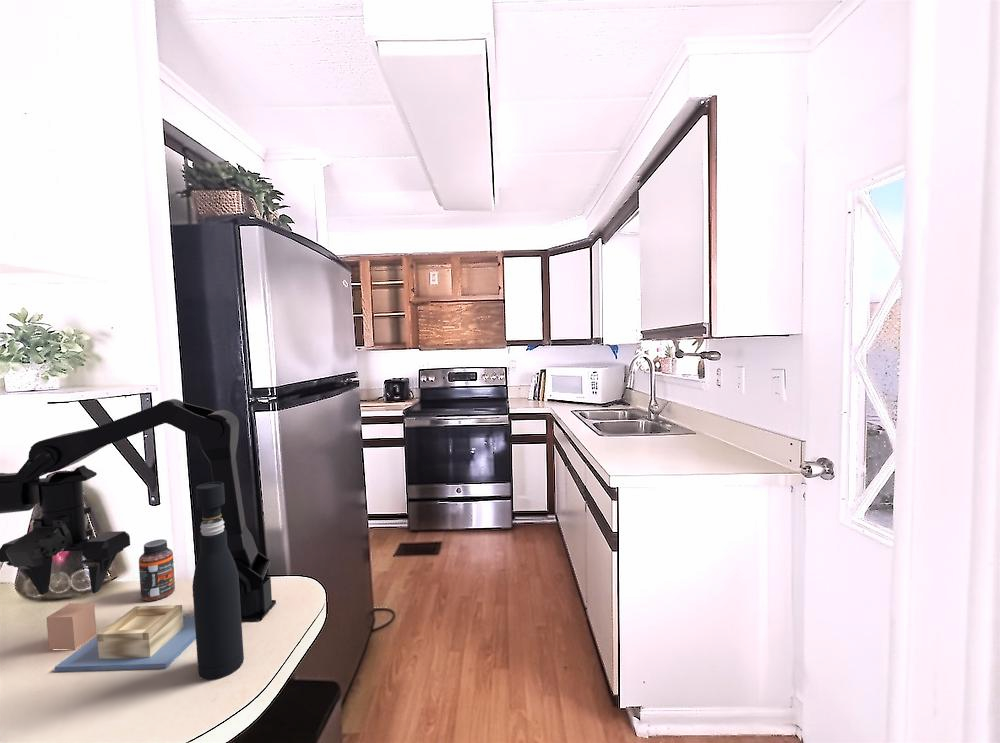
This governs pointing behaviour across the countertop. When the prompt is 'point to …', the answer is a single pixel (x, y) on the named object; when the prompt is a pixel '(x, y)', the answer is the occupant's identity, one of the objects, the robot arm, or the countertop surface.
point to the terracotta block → (71, 626)
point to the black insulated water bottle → (216, 592)
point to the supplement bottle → (156, 571)
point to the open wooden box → (140, 632)
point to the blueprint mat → (162, 658)
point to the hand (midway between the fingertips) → (70, 593)
